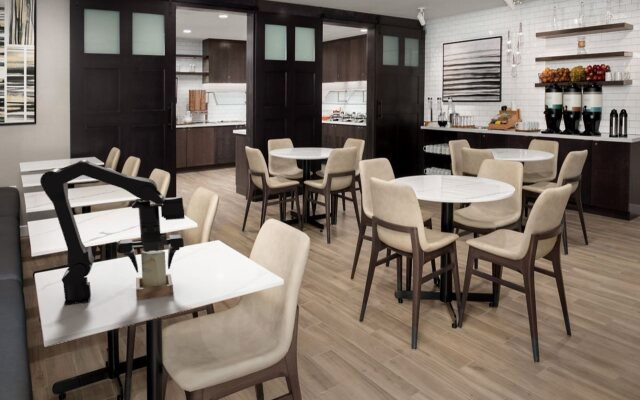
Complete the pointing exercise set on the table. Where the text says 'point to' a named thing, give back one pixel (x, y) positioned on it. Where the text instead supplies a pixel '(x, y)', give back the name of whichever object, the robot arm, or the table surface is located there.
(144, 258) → the skincare box
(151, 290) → the box
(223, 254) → the table surface
